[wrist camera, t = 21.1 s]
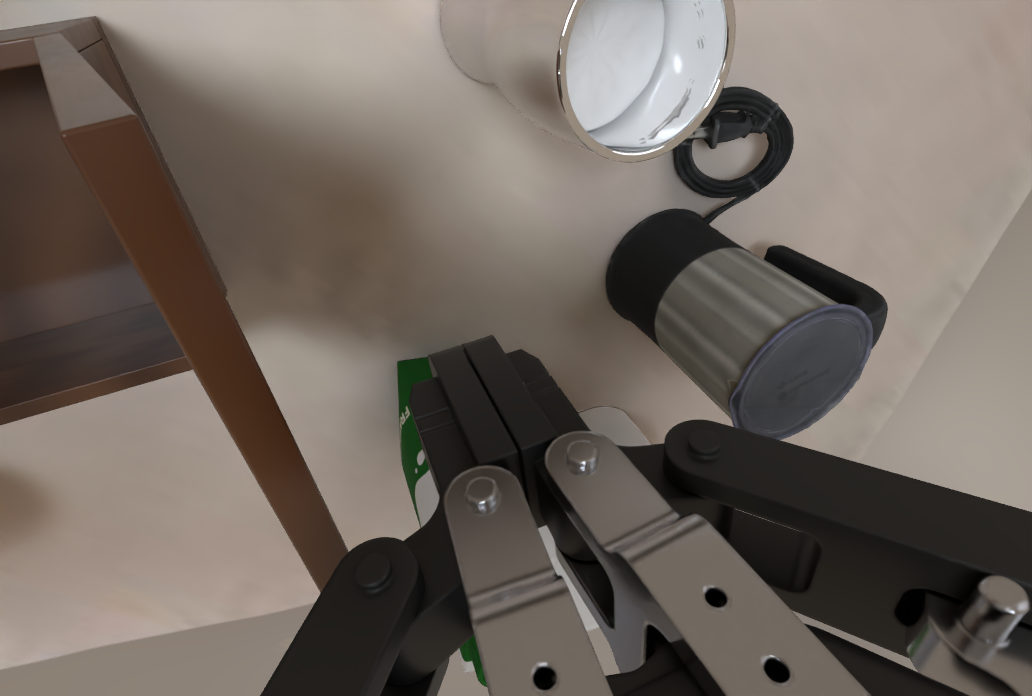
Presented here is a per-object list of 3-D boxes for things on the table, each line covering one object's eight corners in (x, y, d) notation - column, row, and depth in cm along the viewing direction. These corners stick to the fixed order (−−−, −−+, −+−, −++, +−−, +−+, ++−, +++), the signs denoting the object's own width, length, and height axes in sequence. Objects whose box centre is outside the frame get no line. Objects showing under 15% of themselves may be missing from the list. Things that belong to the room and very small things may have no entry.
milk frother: (617, 341, 46) (741, 470, 34) (561, 160, 36) (710, 256, 24) (768, 257, 47) (937, 354, 35) (755, 58, 37) (984, 104, 25)
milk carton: (382, 351, 38) (473, 619, 23) (510, 334, 41) (665, 561, 26) (387, 449, 43) (465, 727, 27) (501, 428, 46) (629, 666, 31)
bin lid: (378, 692, 14) (406, 671, 15) (56, 133, 6) (138, 113, 6) (213, 370, 26) (231, 362, 27) (32, 37, 18) (60, 32, 19)
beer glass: (404, -14, 28) (514, 7, 16) (524, -92, 28) (719, -126, 16) (471, 117, 32) (595, 206, 21) (574, 49, 32) (757, 100, 21)
